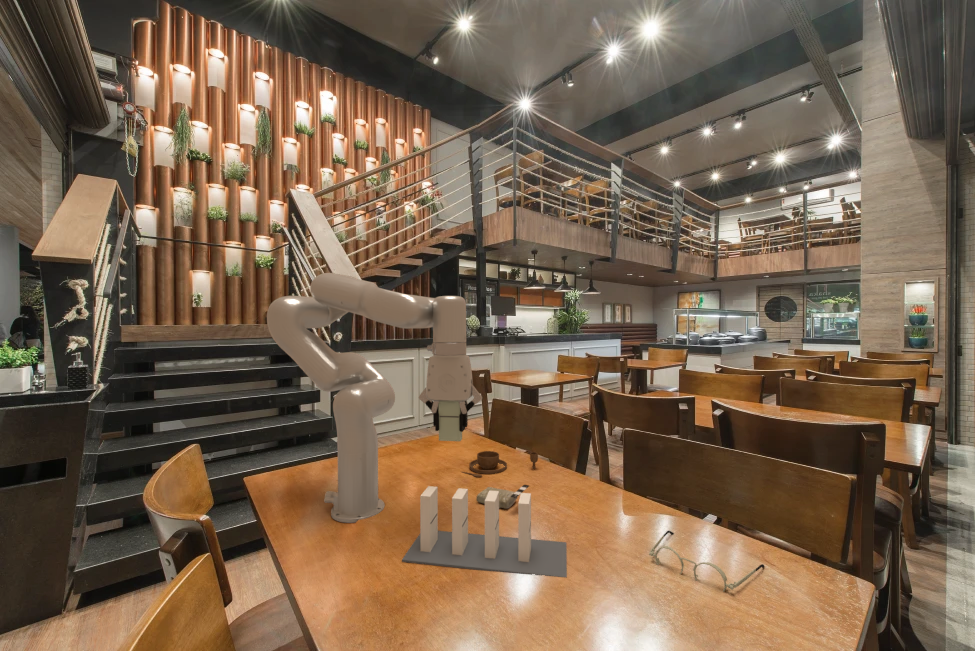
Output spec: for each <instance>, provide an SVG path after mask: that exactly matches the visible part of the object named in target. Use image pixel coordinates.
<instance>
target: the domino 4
mask: <svg viewBox="0 0 975 651" xmlns="http://www.w3.org/2000/svg"><path fill="white" fill-rule="evenodd" d="M517 505H518V506H517V507H518V508H517V509H518V512H517V514H518V516H517V517H518V518H517V519H518V520H517V522H518V525H517V526H518V527H517V529H518V536H517V538H518V561H522V562H529V559H530V552H531V539H532V493H529V492H522V493H521V494H520V495H519V500H518V504H517Z"/></svg>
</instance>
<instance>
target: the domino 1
mask: <svg viewBox="0 0 975 651" xmlns="http://www.w3.org/2000/svg"><path fill="white" fill-rule="evenodd" d="M438 489H439V488H438V486H430V485H428V486H427V487H426V489H424V491H423V492H422V493H421V495H420V497H419V498H420V502H419V505H420V507H419V508H420V509H419V511H420V512H419V513H420V524H419V525H420V533H419V534H420V542H421V551H424V552H431V550H432V548H433V547H434V545H435V543H436V541H437V540H438V531H439V530H438V529H439V528H438V526H439V524H438V523H439V522H438V521H439V518H438V516H439V514H438V513H439V510H438V509H439V508H438V507H439V502H438V501H439V500H438V499H439V498H438V494H439V493H438V492H439V490H438Z"/></svg>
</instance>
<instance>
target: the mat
mask: <svg viewBox="0 0 975 651" xmlns="http://www.w3.org/2000/svg"><path fill="white" fill-rule="evenodd" d="M567 548H568V547H567V542H566V541H555V540H547V539H546V540H545V539H536V538H535V539H532V538H531V552H530V559H529V562H522V561H518V537H514V536H513V537H512V536H511V537H509V536H500V535H499V547H498V551H497V554H496V557H495V559H493V558H485V534H479V533H469V532H468V543H467V546H466V548H465V550H464V552H463V555H453V554H452V531H444V530H438V540H437V541H436V543H435V545H434V547H433V548H432V550H431V552H424V551H421V542H420V533H419V534H418V535H417V537H416V538H415V540H414V542H412V544H411V545H410V547H409V548H408V550H407V552H406V553H405V555H404V556H403V558H402V559H401V562H402V563H409V564H419V565H426V566H427V565H428V566H436V567H439V566H440V567H446V568H456V569H466V570H474V571H485V572H495V573H496V572H498V573H510V574H521V575H531V576H533V575H532V574H535V575H534V576H542V575H545V576H546V577H557V578H568V573H567V572H568V571H567V569H568V567H567V566H568V565H567V562H568V561H567V554H568V552H567ZM545 576H544V577H545Z"/></svg>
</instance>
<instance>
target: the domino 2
mask: <svg viewBox="0 0 975 651" xmlns="http://www.w3.org/2000/svg"><path fill="white" fill-rule="evenodd" d="M451 532H452V554H453V555H463V552H464V550H465V548H466V546H467V543H468V533H469V490H468V488H461V487H460V488H457V489H456V492H454V494H453V496H452V497H451Z"/></svg>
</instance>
